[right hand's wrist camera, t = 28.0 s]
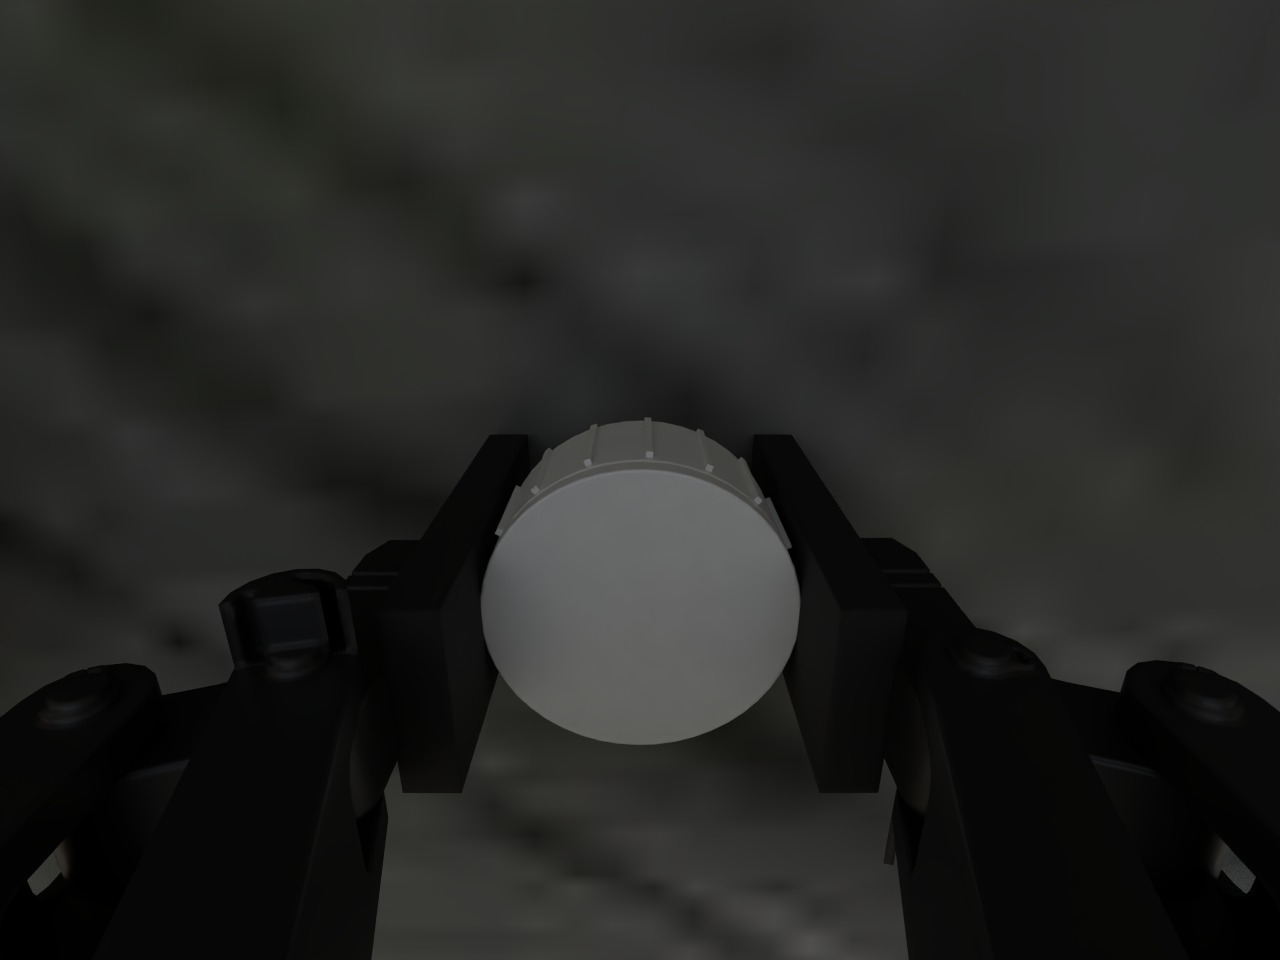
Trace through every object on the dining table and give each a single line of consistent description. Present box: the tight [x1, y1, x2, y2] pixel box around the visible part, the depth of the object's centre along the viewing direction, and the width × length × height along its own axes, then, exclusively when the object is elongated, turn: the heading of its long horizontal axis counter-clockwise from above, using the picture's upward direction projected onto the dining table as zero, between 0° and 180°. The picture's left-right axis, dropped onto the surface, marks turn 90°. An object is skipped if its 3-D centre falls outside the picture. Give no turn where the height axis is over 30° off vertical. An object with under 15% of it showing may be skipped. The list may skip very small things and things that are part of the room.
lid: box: [480, 417, 800, 745], centre depth 11 cm, size 5×5×2 cm
